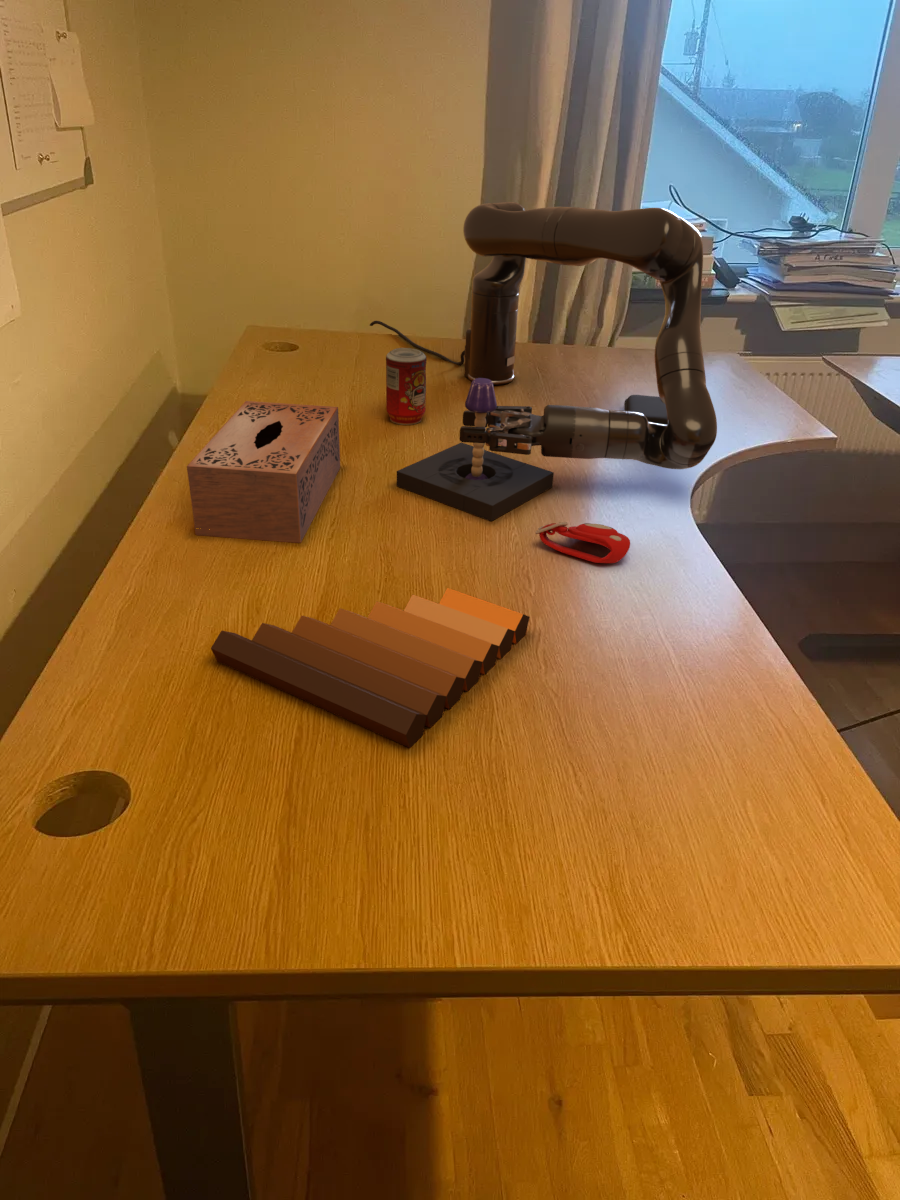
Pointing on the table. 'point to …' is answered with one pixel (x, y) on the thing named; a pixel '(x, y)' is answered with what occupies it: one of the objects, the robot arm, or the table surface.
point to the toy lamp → (480, 419)
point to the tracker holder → (588, 540)
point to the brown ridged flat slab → (381, 659)
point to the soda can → (405, 385)
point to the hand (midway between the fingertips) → (461, 425)
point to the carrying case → (647, 407)
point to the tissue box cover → (265, 472)
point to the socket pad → (475, 481)
